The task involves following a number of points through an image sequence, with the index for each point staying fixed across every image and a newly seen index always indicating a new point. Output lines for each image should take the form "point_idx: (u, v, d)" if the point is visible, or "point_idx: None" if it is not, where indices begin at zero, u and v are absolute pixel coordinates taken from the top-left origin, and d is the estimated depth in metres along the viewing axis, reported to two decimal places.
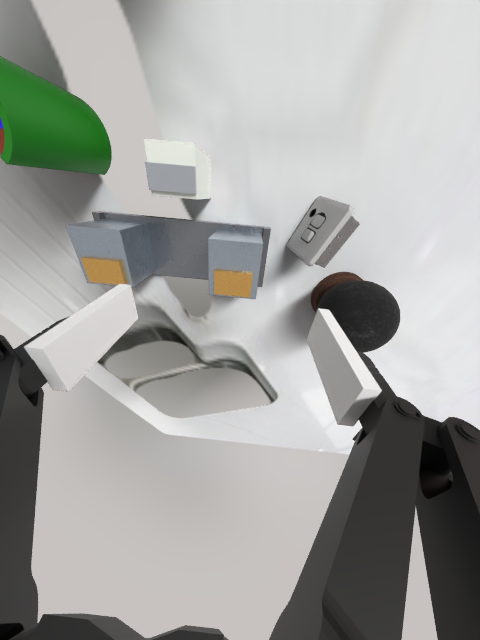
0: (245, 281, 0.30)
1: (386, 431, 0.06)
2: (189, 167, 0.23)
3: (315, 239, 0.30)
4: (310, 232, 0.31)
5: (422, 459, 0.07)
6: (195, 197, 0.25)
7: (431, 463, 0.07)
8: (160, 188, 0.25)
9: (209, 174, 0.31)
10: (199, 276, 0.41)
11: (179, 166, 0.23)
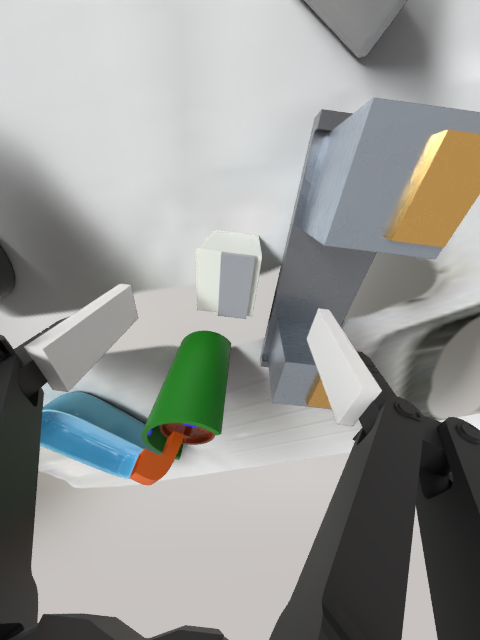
0: (458, 155, 0.12)
1: (386, 431, 0.06)
2: (222, 261, 0.16)
3: None
4: None
5: (422, 459, 0.07)
6: (259, 258, 0.16)
7: (431, 463, 0.07)
8: (245, 305, 0.18)
9: (232, 233, 0.23)
10: (363, 269, 0.25)
11: (221, 275, 0.17)
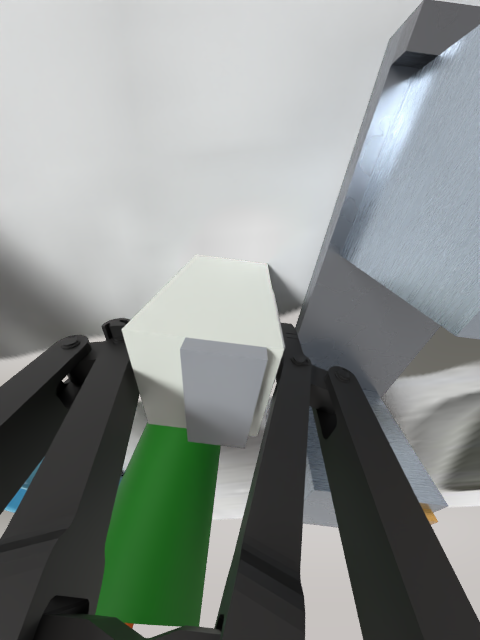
0: None
1: (286, 382, 0.08)
2: (186, 363, 0.06)
3: None
4: None
5: (312, 400, 0.09)
6: (276, 352, 0.07)
7: (319, 403, 0.09)
8: (243, 432, 0.09)
9: (223, 262, 0.14)
10: None
11: (185, 386, 0.07)
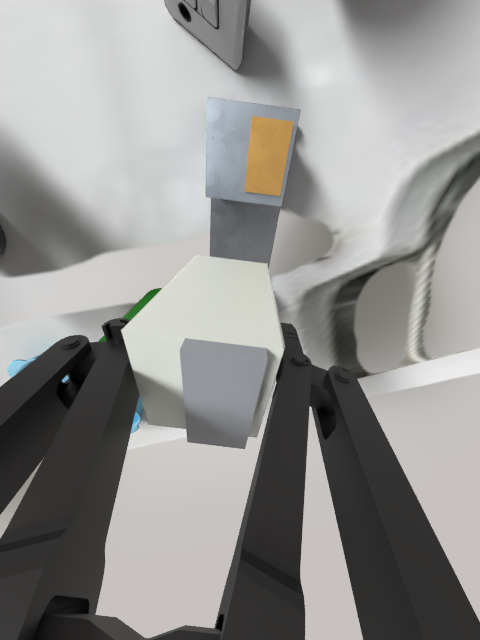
0: (264, 132, 0.19)
1: (286, 382, 0.08)
2: (186, 364, 0.06)
3: None
4: None
5: (312, 400, 0.09)
6: (276, 353, 0.07)
7: (319, 403, 0.09)
8: (243, 432, 0.09)
9: (223, 263, 0.14)
10: (272, 230, 0.32)
11: (185, 387, 0.07)
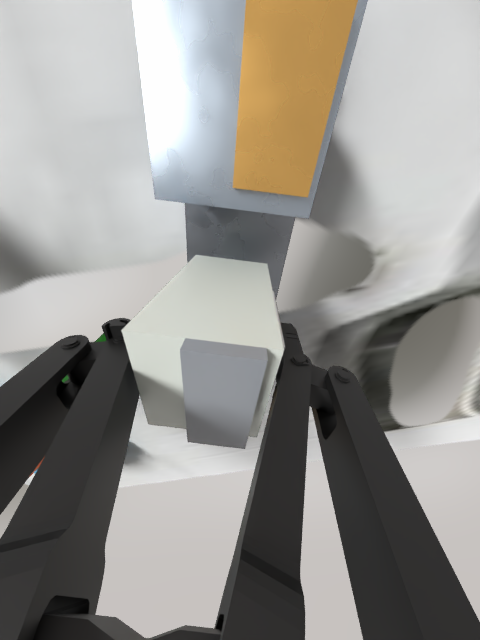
0: (277, 35, 0.07)
1: (286, 382, 0.08)
2: (186, 364, 0.06)
3: None
4: None
5: (312, 400, 0.09)
6: (276, 353, 0.07)
7: (318, 403, 0.09)
8: (243, 432, 0.09)
9: (223, 263, 0.14)
10: (281, 250, 0.21)
11: (185, 387, 0.07)
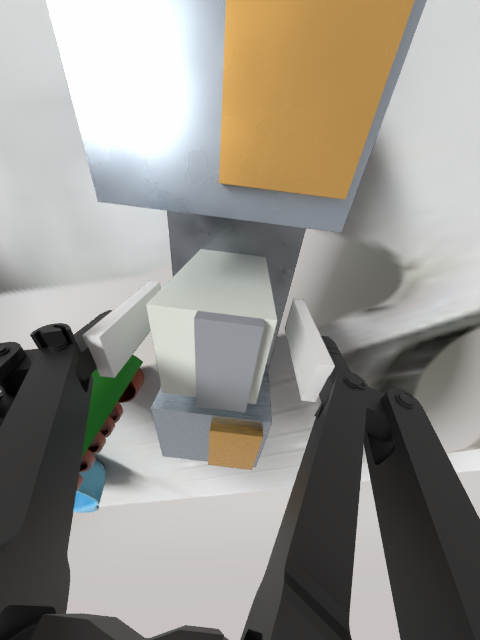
0: None
1: (337, 403, 0.07)
2: (198, 331, 0.08)
3: None
4: None
5: (368, 426, 0.08)
6: (271, 323, 0.08)
7: (375, 429, 0.08)
8: (244, 395, 0.10)
9: (225, 256, 0.15)
10: (289, 264, 0.17)
11: (197, 352, 0.09)
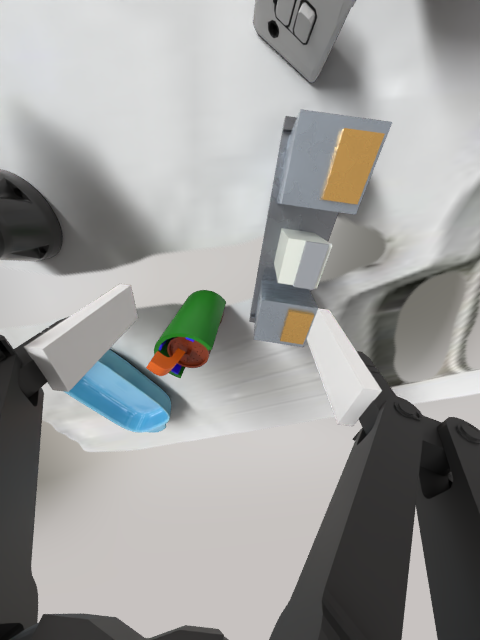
0: (353, 143, 0.19)
1: (386, 431, 0.06)
2: (306, 247, 0.24)
3: None
4: (300, 15, 0.19)
5: (422, 459, 0.07)
6: (330, 245, 0.24)
7: (431, 463, 0.07)
8: (315, 279, 0.26)
9: (296, 231, 0.32)
10: (326, 236, 0.33)
11: (303, 256, 0.25)
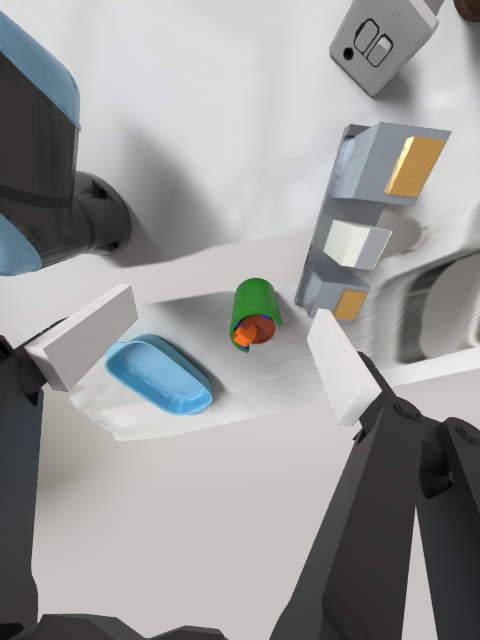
0: (420, 148, 0.24)
1: (386, 431, 0.06)
2: (372, 233, 0.29)
3: (394, 30, 0.22)
4: (378, 46, 0.24)
5: (422, 459, 0.07)
6: (390, 232, 0.29)
7: (431, 463, 0.07)
8: (374, 261, 0.31)
9: (347, 221, 0.37)
10: None
11: (367, 242, 0.30)
